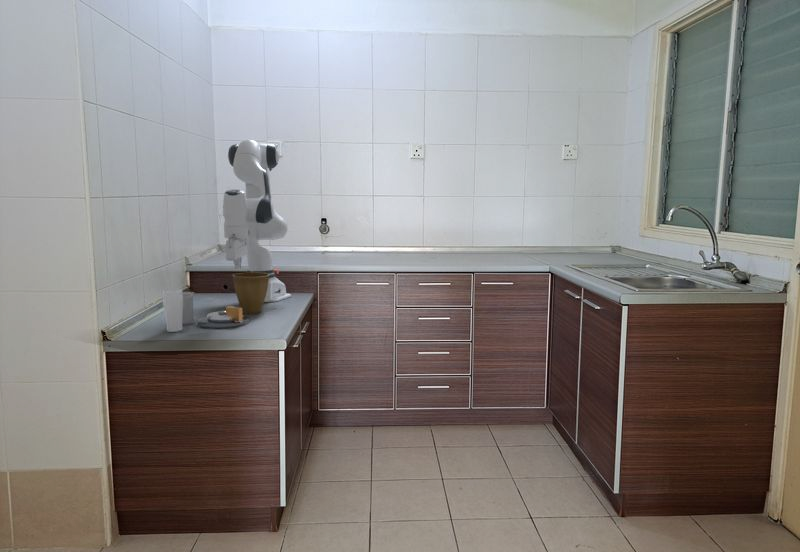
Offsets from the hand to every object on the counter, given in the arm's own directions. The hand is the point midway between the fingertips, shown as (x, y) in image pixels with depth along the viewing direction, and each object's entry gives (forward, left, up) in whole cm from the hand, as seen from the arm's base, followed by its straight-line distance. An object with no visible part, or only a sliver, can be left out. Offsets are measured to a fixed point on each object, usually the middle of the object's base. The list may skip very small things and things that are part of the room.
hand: (238, 268), depth 224 cm
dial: (+5, -2, -19) cm, 20 cm away
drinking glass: (+23, -10, -21) cm, 33 cm away
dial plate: (+5, -4, -21) cm, 22 cm away
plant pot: (-16, -9, -21) cm, 28 cm away
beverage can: (+13, -16, -21) cm, 29 cm away
